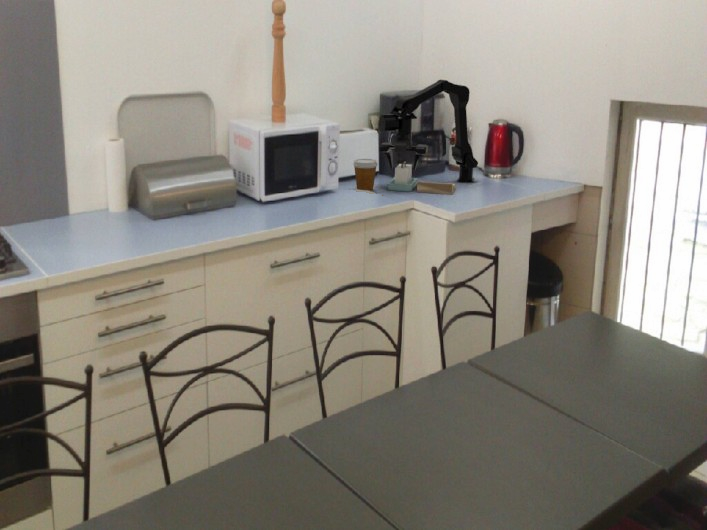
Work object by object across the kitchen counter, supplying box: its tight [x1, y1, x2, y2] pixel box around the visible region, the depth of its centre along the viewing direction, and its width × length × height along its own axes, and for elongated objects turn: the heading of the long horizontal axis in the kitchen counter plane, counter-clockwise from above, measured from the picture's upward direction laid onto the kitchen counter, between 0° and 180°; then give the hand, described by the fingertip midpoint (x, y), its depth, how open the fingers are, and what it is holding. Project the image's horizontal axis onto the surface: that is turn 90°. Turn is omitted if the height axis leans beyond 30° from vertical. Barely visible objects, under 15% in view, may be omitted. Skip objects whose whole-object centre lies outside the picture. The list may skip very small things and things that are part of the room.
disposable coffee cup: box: [352, 158, 379, 193], centre depth 298 cm, size 10×10×12 cm
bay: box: [416, 181, 456, 195], centre depth 301 cm, size 11×14×4 cm
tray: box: [387, 176, 419, 192], centre depth 307 cm, size 14×10×2 cm
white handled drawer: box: [394, 161, 413, 185], centre depth 305 cm, size 9×5×10 cm, turn 165°
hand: (403, 169), depth 305 cm, fingers open, 9 cm apart
